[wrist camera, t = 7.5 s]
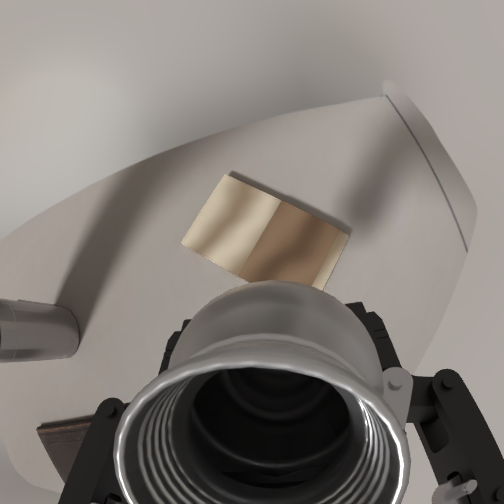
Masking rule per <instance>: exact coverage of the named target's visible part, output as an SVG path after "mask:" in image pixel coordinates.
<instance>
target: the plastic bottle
mask: <svg viewBox="0 0 504 504" xmlns="http://www.w3.org/2000/svg"><path fill="white" fill-rule="evenodd" d="M383 395H384V385H383V371H382V368H381V364H380V361H379V357H378V354H377V351H376V348H375V345H374V343H373V341H372V339H371V337H370V335H369V333H368V331H367V330H366V328H365V326H364V325H363V324H362V322H361V321H360V320H359V319H358V318H357V316H356V315H355V314H354V313H353V312H352V311H351V310H350V309H349V308H348V307H347V306H345V305H344V304H343V303H341V302H340V301H339V300H338V299H336V298H335V297H334V296H332V295H330V294H328V293H325V292H323V291H321V290H319V289H317V288H315V287H313V286H309V285H305V284H301V283H297V282H294V281H279V280H267V281H260V282H252V283H248V284H245V285H242V286H239V287H236V288H233V289H230V290H228V291H227V292H225V293H223V294H221V295H220V296H218V297H216V298H215V299H213V300H211V301H210V302H209V303H208V304H207V305H205V306H204V307H203V308H202V309H201V310H200V311H199V312H198V313H197V314H195V316H194V317H193V318H192V320H191V321H190V323H189V324H188V325H187V327H186V328H185V329H184V331H183V332H182V334H181V336H180V337H179V340H178V342H177V344H176V346H175V348H174V350H173V352H172V355H171V357H170V362H169V366H168V369H167V370H165V371H163V372H162V373H161V374H160V375H159V376H157V377H156V378H155V379H154V380H153V381H151V382H150V383H149V384H148V385H146V386H145V387H144V388H143V389H142V390H141V391H140V392H139V393H138V394H137V395H136V396H135V397H134V399H133V400H132V402H131V403H130V404H129V406H128V407H127V408H126V410H125V411H124V413H123V415H122V417H121V420H120V422H119V425H118V428H117V430H116V433H115V441H114V451H113V458H114V465H115V471H116V477H117V479H118V482H119V485H120V487H121V490H122V492H123V495H124V497H125V498H126V500H127V502H128V503H129V504H401V502H402V499H403V497H404V494H405V491H406V489H407V486H408V483H409V475H410V466H411V458H410V452H409V446H408V440H407V437H406V435H405V433H404V431H403V429H402V427H401V425H400V422H399V420H398V418H397V417H396V415H395V413H394V411H393V409H392V408H391V407H390V406H389V404H388V403H387V402H386V401H385V400H384V399H383ZM326 465H330V466H329V467H328V468H327V469H326V470H325V471H323V472H322V473H320V474H319V475H317V476H316V477H314V478H313V479H311V480H308V481H306V482H304V483H302V484H299V485H295V486H291V487H287V488H278V489H270V488H260V487H254V486H250V485H247V484H244V483H241V482H237V481H235V480H233V479H231V478H229V477H227V476H225V475H224V474H222V471H230V472H253V473H258V474H263V475H268V476H274V477H280V476H284V475H287V474H291V473H294V472H297V471H300V470H303V469H306V468H312V467H319V466H326Z"/></svg>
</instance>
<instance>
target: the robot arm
mask: <svg viewBox="0 0 504 504" xmlns="http://www.w3.org/2000/svg"><path fill="white" fill-rule="evenodd" d="M345 306H347V307H348V308H349V309H350V310H351V311H352V312H353V313H354V314H355V315H356V316H357V318H358V319H359V320H360V321H361V322H362V324H363V325H364V326H365V328H366V330H367V331H368V333H369V335H370V337H371V339H372V341H373V343H374V345H375V348H376V351H377V354H378V357H379V361H380V364H381V368H382V371H383V385H384V395H383V399H384V400H385V401H386V402H387V403H388V404H389V406H390V407H391V408H392V409H393V411H394V413H395V415H396V417H397V418H398V420H399V422H400V425H401V427H402V429H403V431H404V433H405V435H406V432H405V425H406V423H414V426H415V428H416V430H417V433H418V435H419V437H420V440H421V442H422V444H423V446H424V449H425V452H426V454H427V456H428V459H429V461H430V464H431V466H432V469H433V472H434V474H435V477H436V479H437V482H438V485H439V486H438V487H437V488H436V490H435V491H434V493H433V496H432V504H504V459H503V457H502V454H501V452H500V450H499V448H498V445H497V444H496V441H495V439H494V437H493V435H492V433H491V431H490V429H489V427H488V425H487V423H486V421H485V419H484V417H483V415H482V413H481V411H480V410H479V408H478V406H477V404H476V402H475V401H474V399H473V397H472V395H471V394H470V392H469V390H468V388H467V387H466V385H465V383H464V382H463V380H462V378H461V377H460V375H459V374H458V373H457V372H455V371H454V370H451V369H443V370H440V371H438V372H437V373H436V374H435V376H434V377H420V376H414V375H411V374H410V373H409V372H408V371H407V370H405V369H403V368H402V366H401V365H400V362H399V360H398V357H397V354H396V352H395V349H394V347H393V344H392V342H391V340H390V338H389V335H388V332H387V330H386V328H385V325H384V323H383V321H382V319H381V318H380V317H379V316H378V315H377V314H376V313H375V312H374V311H373V312H368V313H366V310H365V308H364V305H363V303H362V302H355V303H349V304H345ZM191 320H192V319H187V320H184V322H183V326H182V329H181V331H175V332H174V333H173V335H172V336H171V337H170V338H169V340H168V342H167V346H166V349H165V350H166V352H165V353H164V356H163V360H162V363H161V367H160V371H159V374H158V376H159V375H160V374H161V373H162V372H163V371H165V370H167V369H168V366H169V362H170V357H171V355H172V352H173V350H174V348H175V346H176V344H177V342H178V340H179V337H180V336H181V334H182V332H183V331H184V329H185V328H186V327H187V325H188V324H189V323H190V321H191ZM78 345H79V328H78V324H77V321H76V319H75V317H74V316H73V314H72V313H71V312H70V311H69V310H68V309H66V308H63V307H57V306H56V305H54V304H46V303H39V302H32V301H25V300H18V301H13V300H7V299H0V363H8V362H26V361H40V360H52V359H63V358H69V357H71V356H73V355H74V353H75V352H76V350H77V348H78ZM130 403H131V402H130ZM130 403H125V404H124V403H123V402H122V401H121V400H119V399H117V398H108V399H106V400H104V401H103V402H102V403H101V404H100V405H99V407H98V409H97V411H96V413H95V415H94V417H93V419H92V422H91V424H90V426H89V428H88V430H87V433H86V435H85V437H84V439H83V442H82V444H81V446H80V449H79V451H78V453H77V456H76V458H75V461H74V463H73V466H72V468H71V471H70V473H69V476H68V478H67V481H66V483H65V486H64V489H63V492H62V494H61V497H60V500H59V503H58V504H129V503H128V502H127V500H126V498H125V497H124V495H123V492H122V490H121V487H120V485H119V482H118V479H117V477H116V471H115V465H114V458H113V451H114V441H115V433H116V430H117V428H118V425H119V422H120V420H121V417H122V415H123V413H124V411H125V410H126V408H127V407H128V406H129V404H130ZM329 466H330V465H326V466H319V467H312V468H306V469H303V470H300V471H297V472H294V473H291V474H287V475H284V476H280V477H274V476H268V475H263V474H258V473H253V472H230V471H222V474H224V475H225V476H227V477H229V478H231V479H233V480H235V481H237V482H241V483H244V484H247V485H250V486H254V487H260V488H270V489H278V488H287V487H291V486H295V485H299V484H302V483H304V482H306V481H308V480H311V479H313V478H314V477H316V476H317V475H319V474H320V473H322V472H323V471H325V470H326V469H327V468H328V467H329Z"/></svg>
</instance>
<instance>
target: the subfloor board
mask: <svg viewBox="0 0 504 504" xmlns="http://www.w3.org/2000/svg"><path fill="white" fill-rule="evenodd" d="M348 238H349V235H348V234H346V233H344V232H342V231H340V230H339V229H337V228H336V227H334V226H332V225H330V224H328V223H326V222H324V221H322V220H320V219H318V218H316V217H314V216H312V215H311V214H309V213H307V212H305V211H303V210H301V209H299V208H297V207H295V206H293V205H291V204H289V203H287V202H285V201H282V200H279V199H277V198H275V197H273V196H271V195H269V194H267V193H265V192H263V191H260V190H258V189H256V188H254V187H252V186H250V185H248V184H245V183H243V182H241V181H239V180H237V179H234V178H232V177H230V176H228V175H226V174H225V175H224V176H223V178H222V179H221V181H220V182H219V184H218V185H217V187H216V188H215V190H214V191H213V193H212V194H211V196H210V197H209V199H208V200H207V202H206V204H205V205H204V207H203V208H202V210H201V211H200V213H199V215H198V216H197V218H196V219H195V221H194V222H193V224H192V226H191V227H190V229H189V231H188V232H187V234H186V235H185V237H184V239H183V240H182V242H181V243H182V244H183V245H185V246H186V247H188V248H190V249H191V250H193V251H195V252H196V253H198V254H200V255H202V256H203V257H205V258H207V259H208V260H210V261H212V262H214V263H215V264H217V265H219V266H220V267H222V268H224V269H226V270H227V271H229V272H231V273H233V274H234V275H236V276H238V277H239V278H241V279H243V280H245V281H246V282H248V283H252V282H260V281H267V280H279V281H294V282H297V283H301V284H305V285H309V286H313V287H315V288H317V289H319V290H321V291H322V289H323V287H324V286H325V284H326V282H327V280H328V278H329V276H330V274H331V272H332V270H333V268H334V266H335V264H336V262H337V260H338V258H339V256H340V254H341V252H342V250H343V248H344V246H345V244H346V242H347V240H348Z"/></svg>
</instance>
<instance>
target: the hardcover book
mask: <svg viewBox="0 0 504 504" xmlns="http://www.w3.org/2000/svg"><path fill="white" fill-rule="evenodd" d="M92 419H93V418H91V419H86V420H80V421H75V422H69V423H62V424H55V425H48V426H40V427H37V429H36V430H37V433H38V435H39V437H40V439H41V441H42V443H43V445H44V447H45V449H46V451H47V453H48V455H49V457H50V459H51V461H52V462H53V464H54V466H55V468H56V469H57V471H58V473H59V475H60V476H61V478H62V480H63V481H64V483H66V481H67V478H68V476H69V473H70V471H71V468H72V466H73V463H74V461H75V458H76V456H77V453H78V451H79V449H80V446H81V444H82V442H83V439H84V437H85V435H86V433H87V430H88V428H89V426H90V424H91V422H92Z"/></svg>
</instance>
